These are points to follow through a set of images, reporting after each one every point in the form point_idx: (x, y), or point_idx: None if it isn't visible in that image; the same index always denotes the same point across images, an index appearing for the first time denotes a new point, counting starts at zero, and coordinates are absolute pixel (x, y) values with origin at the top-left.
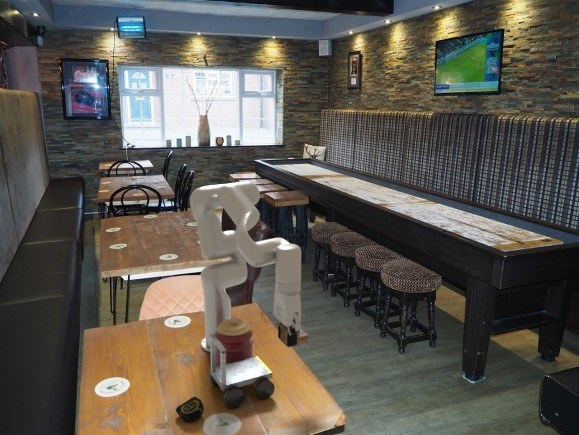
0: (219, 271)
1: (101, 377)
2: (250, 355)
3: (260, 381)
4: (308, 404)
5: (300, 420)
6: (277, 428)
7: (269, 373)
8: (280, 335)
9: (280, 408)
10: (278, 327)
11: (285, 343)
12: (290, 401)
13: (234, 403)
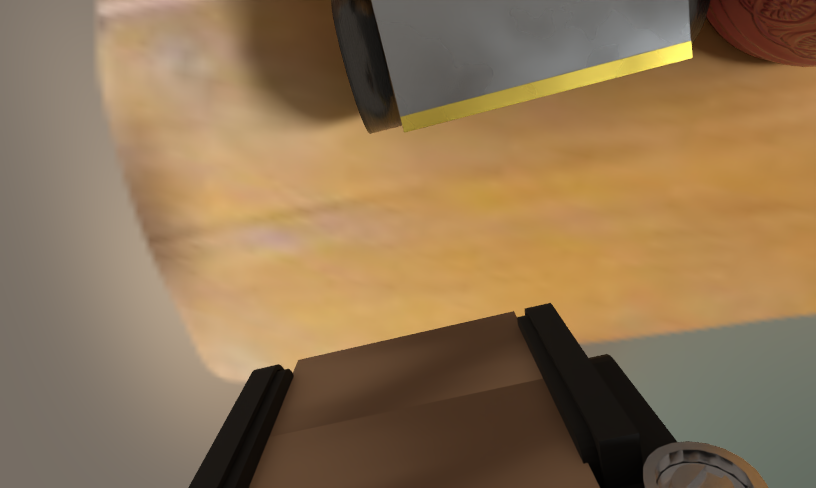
0: None
1: None
2: (794, 25)
3: (366, 27)
4: (284, 283)
5: (163, 215)
6: (104, 85)
7: (399, 108)
8: (530, 352)
9: (270, 139)
10: (616, 420)
11: (363, 358)
12: (323, 204)
13: None
